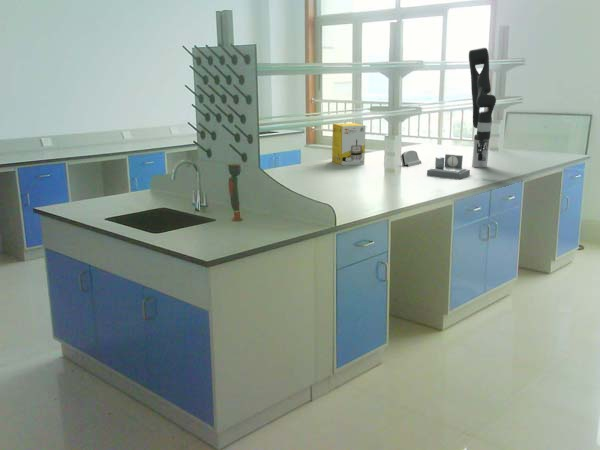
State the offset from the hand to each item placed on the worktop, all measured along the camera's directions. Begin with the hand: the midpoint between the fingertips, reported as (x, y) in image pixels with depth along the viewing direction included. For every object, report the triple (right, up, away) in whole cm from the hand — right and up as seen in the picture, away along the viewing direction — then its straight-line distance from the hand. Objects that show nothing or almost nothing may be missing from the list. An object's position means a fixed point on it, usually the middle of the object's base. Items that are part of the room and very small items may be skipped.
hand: (481, 159), depth 350 cm
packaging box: (-74, +3, +47) cm, 88 cm away
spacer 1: (-23, -4, +5) cm, 24 cm away
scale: (-18, -9, +5) cm, 21 cm away
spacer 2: (0, 0, 0) cm, 0 cm away
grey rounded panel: (-34, +1, +42) cm, 54 cm away
